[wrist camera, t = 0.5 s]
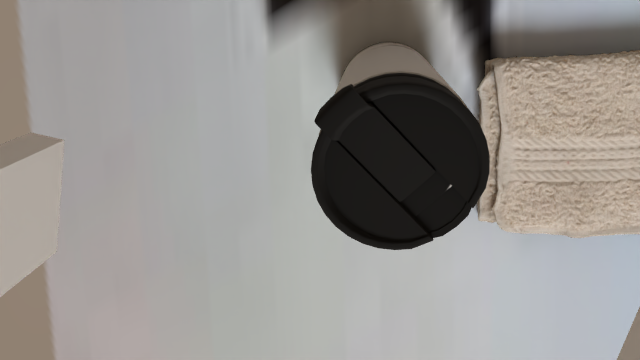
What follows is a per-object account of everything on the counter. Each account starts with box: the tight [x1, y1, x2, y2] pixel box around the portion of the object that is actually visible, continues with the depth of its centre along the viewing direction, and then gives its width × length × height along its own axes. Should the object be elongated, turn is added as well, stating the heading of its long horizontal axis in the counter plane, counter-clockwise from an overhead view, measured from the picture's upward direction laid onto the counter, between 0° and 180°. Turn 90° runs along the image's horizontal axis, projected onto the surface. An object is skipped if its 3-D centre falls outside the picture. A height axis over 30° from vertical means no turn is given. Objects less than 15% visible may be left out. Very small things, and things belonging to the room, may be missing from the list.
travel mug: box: [311, 42, 490, 250], centre depth 29 cm, size 6×7×20 cm
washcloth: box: [477, 50, 640, 238], centre depth 37 cm, size 12×18×3 cm, turn 95°
